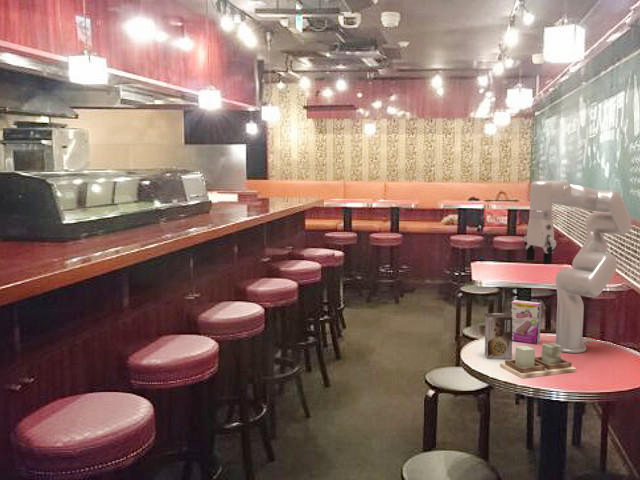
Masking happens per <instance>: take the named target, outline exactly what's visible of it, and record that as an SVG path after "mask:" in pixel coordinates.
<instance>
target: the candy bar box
mask: <svg viewBox="0 0 640 480" xmlns="http://www.w3.org/2000/svg"><path fill="white" fill-rule="evenodd" d="M510 302H511V303H510V315H511V316H512V317H513V319H512V342H517V343H518V342H519V343H523V344H524V343H527V344H533V345H538V344H539V343H540V340H541V321H542V319H541V317H542V303H541V302H537V301H536V302H535V301H526V300H518V299H514V300H512V301H510Z"/></svg>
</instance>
